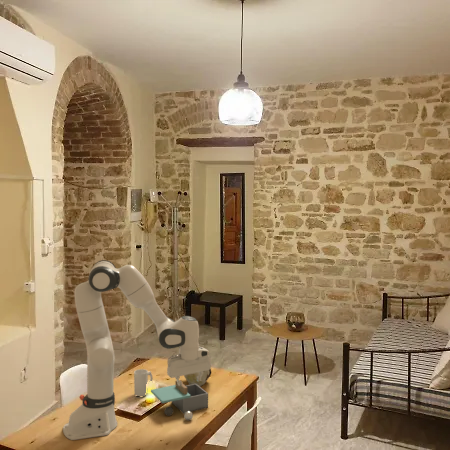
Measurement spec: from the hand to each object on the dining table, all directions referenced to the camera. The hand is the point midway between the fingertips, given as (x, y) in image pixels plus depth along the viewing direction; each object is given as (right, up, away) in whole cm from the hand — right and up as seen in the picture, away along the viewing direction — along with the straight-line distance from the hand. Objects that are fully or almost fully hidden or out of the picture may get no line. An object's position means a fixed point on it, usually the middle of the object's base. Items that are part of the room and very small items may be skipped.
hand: (189, 382), depth 215 cm
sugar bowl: (+1, -14, +42) cm, 45 cm away
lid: (-10, -9, +10) cm, 17 cm away
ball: (-10, -17, +5) cm, 20 cm away
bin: (-1, -16, +16) cm, 22 cm away
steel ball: (-1, -17, +1) cm, 17 cm away
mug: (-25, -15, +27) cm, 40 cm away
